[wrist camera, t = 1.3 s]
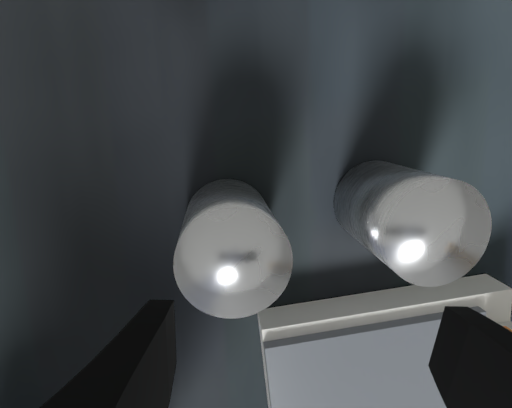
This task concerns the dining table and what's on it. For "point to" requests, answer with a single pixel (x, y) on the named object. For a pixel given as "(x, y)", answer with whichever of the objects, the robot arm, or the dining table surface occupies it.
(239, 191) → the steel weight
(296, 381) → the grey boxy piece
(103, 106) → the dining table surface
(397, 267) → the cylinder
